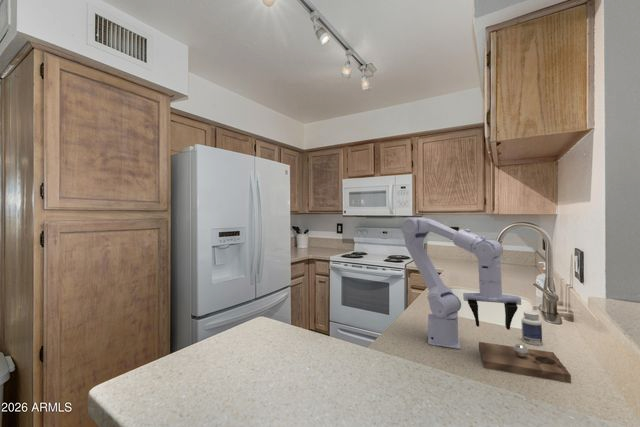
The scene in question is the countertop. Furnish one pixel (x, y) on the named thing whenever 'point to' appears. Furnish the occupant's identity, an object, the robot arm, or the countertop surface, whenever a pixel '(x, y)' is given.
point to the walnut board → (523, 362)
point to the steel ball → (521, 350)
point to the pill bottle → (531, 328)
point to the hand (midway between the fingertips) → (492, 326)
